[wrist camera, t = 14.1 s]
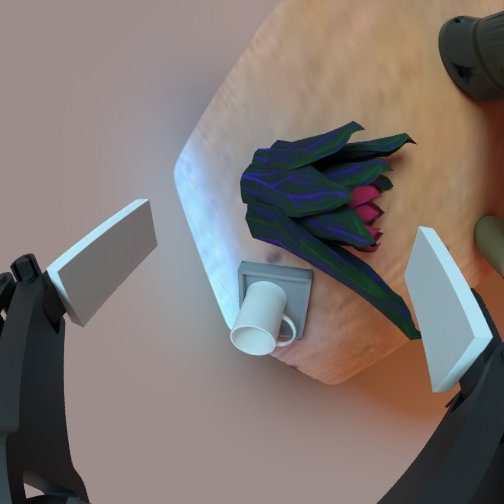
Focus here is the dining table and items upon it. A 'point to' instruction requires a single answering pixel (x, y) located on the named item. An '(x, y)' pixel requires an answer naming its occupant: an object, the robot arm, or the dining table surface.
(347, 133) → the decorative plant
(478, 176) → the dining table surface
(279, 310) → the mug
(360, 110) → the dining table surface
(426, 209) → the dining table surface
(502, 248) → the squeeze bottle
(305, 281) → the slate tray
